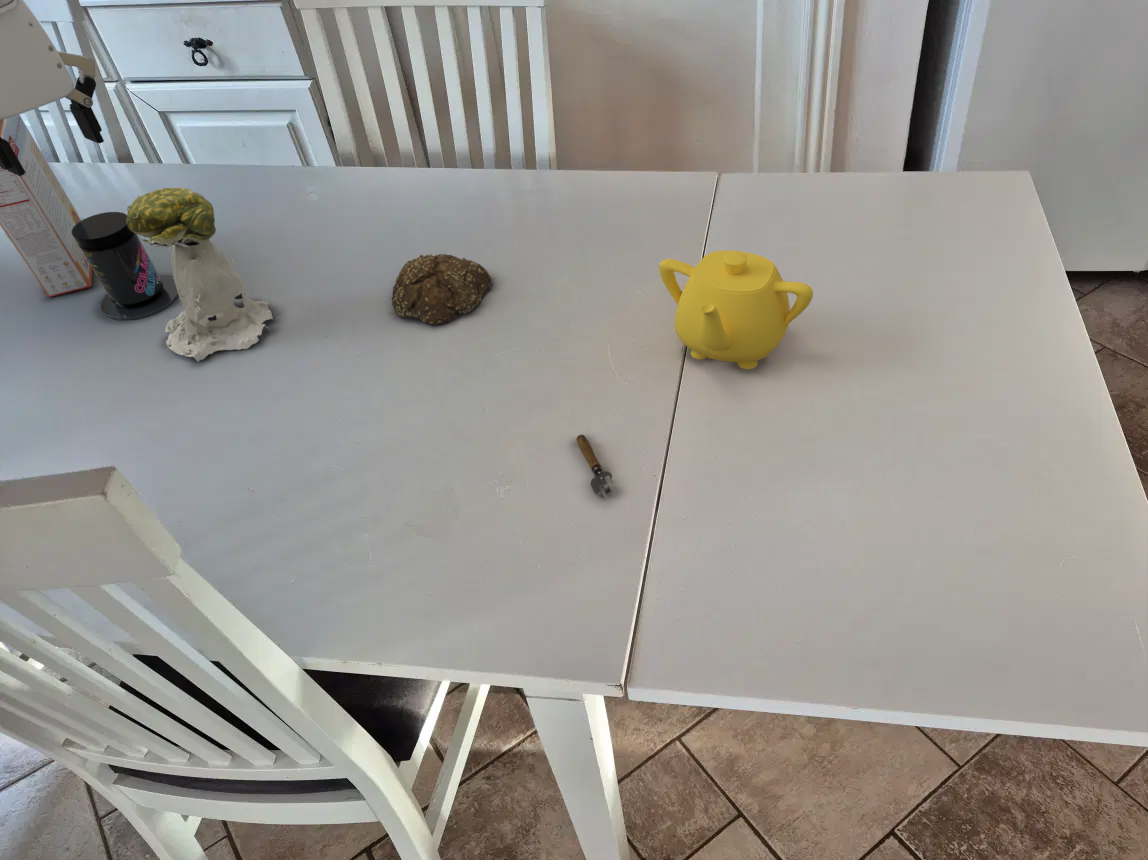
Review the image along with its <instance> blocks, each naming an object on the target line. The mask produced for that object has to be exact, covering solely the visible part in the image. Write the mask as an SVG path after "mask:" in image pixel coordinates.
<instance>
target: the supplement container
mask: <svg viewBox="0 0 1148 860" xmlns="http://www.w3.org/2000/svg"><path fill="white" fill-rule="evenodd" d="M126 219H127V214H126V213H124V212H122V211H121V212H120V211H107V212H101V213H97V214H93V215H90V216H88V217H86V218H83V219H81V220H82V221H80V222H79V223H77V224H76V225H75V226H74V227H73V229H72V235H73V237H74V239H75V240H76V242H77V244H78V246H79V247H80V248H81V250H82V252H83V253H84V255H85V257H86V259H87V260H88V262H89V264H90V265H91V267H92V271H93V272H94V275H96V278H97V279H98V281H99V283H100V284H101V286H102V288H103V289H104V291H105V293H106V294H108V296H109V298H110V299H111V301H112V302H113V303H114V304H115V305H117V306H119V307H122V308H137V307H141V306H144V305H147V304H149V303H151V302H153V301H155V300H156V299H157V298H159V297H160V295H161V294H162V292H163V288H164V287H163V282H162V280H161V279H160V277H159V273H158V271H157V269H156V267H155V265H154V263H153V261H152V260H151V257H150V256H149V254H148V252H147V250H146V248H145V246H144V244H143V243H142V242H143V241H141V238H140V237H139V235H138V234H136V233H134V232H132V231H131V230H129V228H128V226H127V221H126Z"/></svg>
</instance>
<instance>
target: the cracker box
mask: <svg viewBox="0 0 1148 860" xmlns="http://www.w3.org/2000/svg"><path fill="white" fill-rule="evenodd" d="M0 137H1V138H2V139H4V140H7V141H8V143H9V144H10V146H11V148H12V149H13V151H14V153H15V155H16V156H17V158H18V160H19V162H20V163H21V165H22V167H23V169H24V170H25V173H24V175H22V176H18V175H16V174H14V173H12V172H9V171H8V170H4V169H2V168H1V167H0V227H1V229H2V231H3V232H4V234H5V235H6V236H7V238H8V240H9V241H10V242H11V244H12V245H13V247H14V249H15V250H16V251H17V253H18V254H19V256H20V258H21V259H22V260H23V261H24V264H25V265H26V267H27V268H28V269H29V270H30V272H31V273H32V275H33V276H34V278H35V280H36V281H37V282H38V284H39V285H40V287H41V289H42V290H43V292H44V293H45V294H46V297H48V298H53V297H57V296H60V295H64V294H68V293H72V292H76V291H81V290H84V289H88V288H92V282H93V269H92V267H91V265H90V264H89V262H88V260H87V259H86V257H85V255H84V253H83V252H82V250H81V248H80V247H79V246H78V244H77V242H76V240H75V239H74V237H73V235H72V229H73V227H74V226H75V225H76V224H77V223H79V222H80V221H82V220H83V219H82V218H81V217H80V215H79V214H78V211H77V210H76V208H75V206H74V205H73V203H72V202H71V199H70V198H69V197H68V195H67V193H66V191H65V190H64V188H63V186H62V185H61V183H60V181H59V179H58V178H57V175H55V172H54V171H53V169H52V167H51V165H50V164H49V162H48V160H47V159H46V157H45V155H44V154H43V152H42V151H41V149H40V147H39V146H38V144H37V142H36V140H35V138H34V137H33V135H32V133H31V132H30V129H28V127H27V125H26V123H25V121H24V120H23V118H22V117H21V114H19V115H16V116H13V117H10V118H7V119H4V120H3V125H2V130H1V135H0Z"/></svg>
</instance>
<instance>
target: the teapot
mask: <svg viewBox="0 0 1148 860" xmlns="http://www.w3.org/2000/svg"><path fill="white" fill-rule="evenodd" d="M658 265H659V266H658V273H659V275H660V278H661V280H662V281H661V282H662V283H663V285H664V286H665V288H666V290H667V292H668V293H669V295H670V296H671V298H672V299H673V300H674V302H675V303H676V304H677V308H676V311H675V316H674V330H675V332H676V336H677V337H678V338H679V339H680V341H681V342H682V343H683V345H685V346H686V347H687V348H688V349H689V350H690V356H691V357H692V358H693V359H695V360H705V359H707V358H709V359H712V360H716V361H721V362H729V363H736V365H737V366H738V367H739V368H741V369H743V370H752V369H755V368H756V367H758V361H759V360H762V359H764V358H766V357H767V356H769V355H770V354H771V353H772V352H773V351H774V350H775V349H776V348H777V347H778V345H780V343H781V341H782V340H783V338H784V337H785V335H786V333H787V330H788V327H789V324H791V322H792V321H794V320H795V319H796V318H798V317H799V316H800V315H802V313H803V312H804V311H805V310H806V309H807V308H808V306H809V305H810V303H811V302H812V300H813V297H814V290H813V288H812V287H811V285H809V284H807V283H803V282H801V281H800V282H799V281H790V280H789V281H788V280H787V281H786V280H783V278H782V276H781V274H780V271H779V269H778V268H777V266H776V265H775V263H774V262H773V261H771V260H770V259H768V258H767V257H765V256H762V255H759V254H756V253H752V252H748V251H741V250H727V249H726V250H724V249H723V250H715V251H712V252H709V253H707V254H705V256H703V257H702V258H701V260H700V261H698V263H697V265H696V266H694V265H691V264H689V263H687V262H684V261H681V260H678V259H673V258H665V259H662V261H660V263H659V264H658ZM675 273H679V274H681V275H683V276H686V277H689V278H688V279H687V282H685V285H684V287H683V290H682V289H681V287H680V286H679V283H678V281H677V278H676V275H675ZM789 294H793V295H795V296H796V300H795V302H794V303H793V305H792V308H790V307H791V306H790V298H789Z"/></svg>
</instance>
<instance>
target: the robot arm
mask: <svg viewBox="0 0 1148 860" xmlns="http://www.w3.org/2000/svg"><path fill="white" fill-rule="evenodd" d="M67 66H69V67H76V68H77V71H78V77H77V80H76V82H75V85H74V81H73V78H72V76H71V74H70V72H69V70H68V68H67ZM95 77H96V62H95V60H94V59H93V58H91V57H88V56H85V55H81V54H76V53H70V52H66V51H65V52H64V51H60V50H57V48H56V47H55V45H54V43H53V41H52V40H51V38H50V37H49V35H48V33H47V32H46V30H45V29H44V27H43V25H42V24H41V23H40V22H39V20H38V18H37V17H36V16H35V14H34V13H33V11H32V10H31V9H30V7H29V6H28V5H27V3H26V2H25V1H24V0H0V135H1V130H2V125H3V120H4V119H7V118H10V117H13V116H16V115H22V114H24V113H28V112H30V111H32V110H36V109H38V108H40V107H43V106H44V107H45V106H46V105H49V104H52V103H54V102H56V101H60V100H63V99H67V100H69V101H70V103H69V104H68V105H69V111H70V112H71V114H72V117H73V118H74V120H75V121H76V124H77V126H78V128H79V130H80V131H81V135H82V136H83V137H84V139H86V140H88V141H91V142H94V143H97V144H101V143H104V142H105V140H104V137H103V135H102V134H101V132H103V130H102V126H101V124H100V123H99V121H98V118H97V116H96V115H95V112H94V110H93V108H92V107H93V106H94V100H93V97H94V93H95V91H96V87H97V82H96V80H95ZM0 167H1V168H2V169H4V170H8V171H9V172H12V173H14V174H16V175H18V176H22V175H24V173H25V170H24V169H23V167H22V165H21V163H20V162H19V160H18V158H17V156H16V155H15V153H14V151H13V149H12V148H11V146H10V144H9V143H8V141H7V140H4V139H2V138H1V137H0Z"/></svg>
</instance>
